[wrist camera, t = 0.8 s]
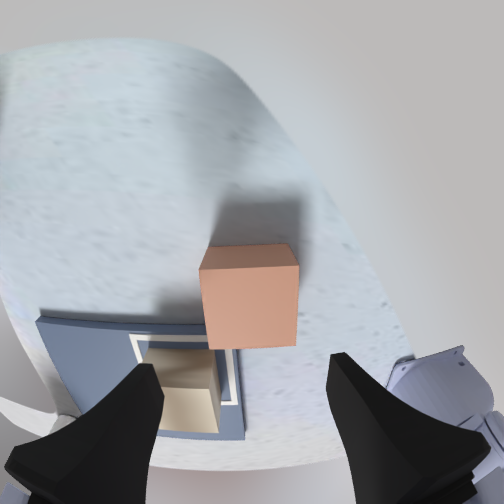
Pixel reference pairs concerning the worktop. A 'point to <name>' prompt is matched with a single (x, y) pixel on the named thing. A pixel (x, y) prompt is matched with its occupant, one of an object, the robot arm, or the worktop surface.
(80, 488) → the robot arm
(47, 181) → the worktop surface
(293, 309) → the terracotta block
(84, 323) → the board
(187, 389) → the cream block
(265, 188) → the worktop surface
